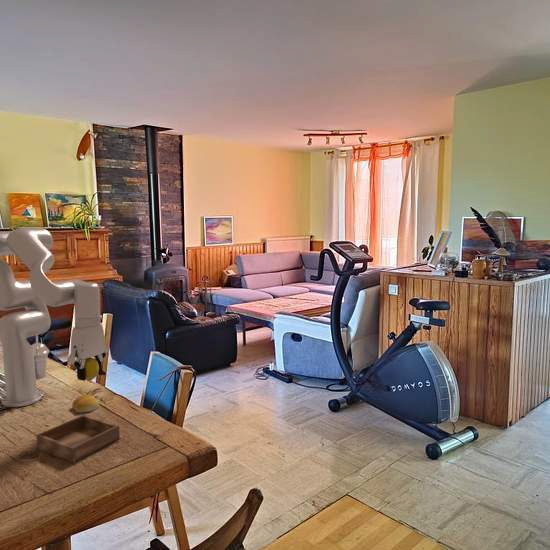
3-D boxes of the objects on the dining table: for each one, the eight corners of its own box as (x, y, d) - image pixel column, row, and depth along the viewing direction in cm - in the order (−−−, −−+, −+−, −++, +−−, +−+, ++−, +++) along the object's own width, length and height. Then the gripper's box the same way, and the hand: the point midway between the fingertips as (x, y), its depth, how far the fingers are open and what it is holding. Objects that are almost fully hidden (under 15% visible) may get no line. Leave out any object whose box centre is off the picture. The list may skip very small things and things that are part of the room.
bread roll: (79, 415, 157) (78, 404, 157) (70, 407, 164) (69, 396, 163) (103, 408, 162) (103, 397, 162) (94, 401, 169) (93, 390, 169)
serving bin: (37, 448, 135) (36, 435, 134) (84, 427, 148) (83, 414, 148) (73, 462, 127) (72, 448, 126) (119, 438, 140) (118, 425, 140)
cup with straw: (28, 374, 197) (24, 327, 194) (52, 371, 200) (49, 324, 198) (27, 381, 189) (23, 331, 186) (52, 377, 193) (49, 329, 190)
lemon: (83, 385, 150) (82, 360, 149) (79, 379, 154) (77, 356, 153) (101, 381, 153) (100, 357, 152) (96, 376, 158) (95, 353, 156)
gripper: (101, 315, 160) (103, 367, 163) (55, 325, 145) (58, 382, 148) (117, 318, 156) (119, 371, 159) (72, 329, 142) (74, 387, 144)
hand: (89, 376), depth 153 cm, fingers closed on lemon, 5 cm apart
